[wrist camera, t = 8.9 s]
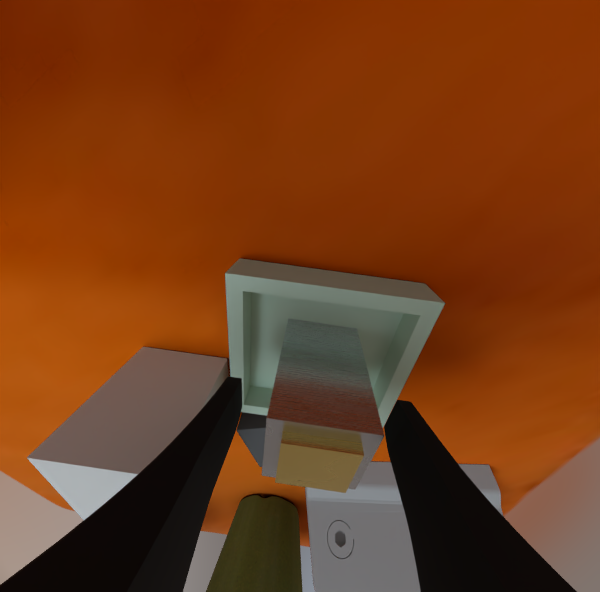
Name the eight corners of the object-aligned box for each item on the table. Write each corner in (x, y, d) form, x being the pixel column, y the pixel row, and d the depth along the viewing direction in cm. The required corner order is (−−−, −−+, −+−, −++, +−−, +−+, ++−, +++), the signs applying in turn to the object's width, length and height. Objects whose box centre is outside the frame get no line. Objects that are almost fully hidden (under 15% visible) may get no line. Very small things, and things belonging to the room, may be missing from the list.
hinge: (494, 464, 19) (594, 689, 12) (469, 469, 22) (537, 647, 16) (302, 459, 21) (298, 651, 14) (307, 464, 24) (305, 621, 18)
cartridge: (288, 318, 13) (264, 430, 7) (357, 328, 13) (387, 448, 7) (282, 367, 15) (259, 486, 9) (342, 376, 15) (356, 501, 9)
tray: (239, 258, 12) (225, 273, 10) (425, 283, 12) (445, 303, 10) (241, 384, 17) (232, 410, 15) (373, 403, 16) (380, 432, 15)
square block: (246, 399, 18) (236, 430, 16) (306, 392, 17) (304, 424, 15) (266, 435, 20) (259, 466, 18) (320, 430, 19) (320, 463, 17)
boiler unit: (139, 346, 15) (20, 456, 9) (227, 358, 15) (166, 478, 9) (161, 417, 19) (88, 529, 13) (231, 428, 19) (190, 544, 13)
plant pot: (332, 497, 24) (341, 718, 14) (300, 532, 30) (291, 709, 20) (227, 472, 23) (159, 689, 13) (214, 513, 29) (160, 688, 19)
